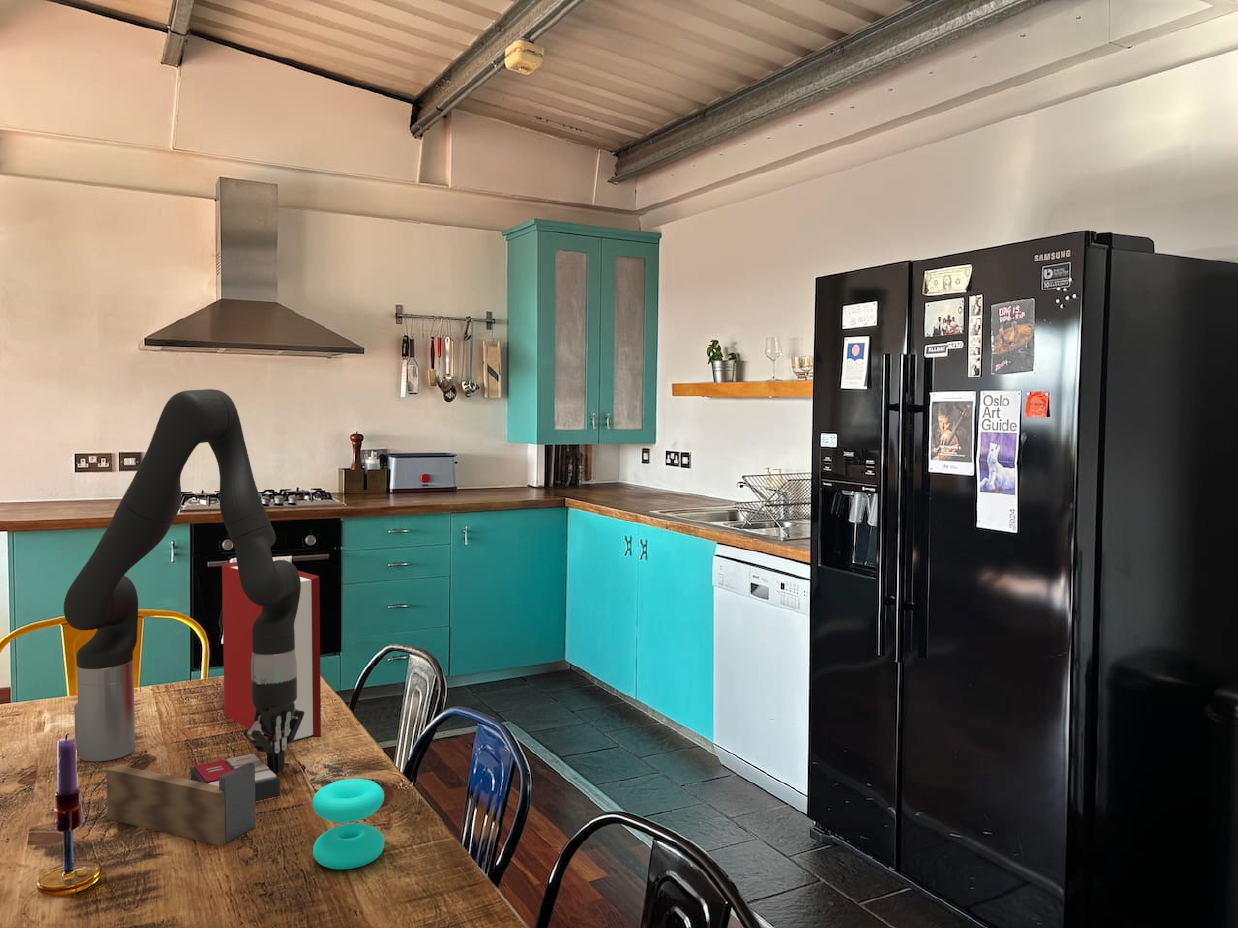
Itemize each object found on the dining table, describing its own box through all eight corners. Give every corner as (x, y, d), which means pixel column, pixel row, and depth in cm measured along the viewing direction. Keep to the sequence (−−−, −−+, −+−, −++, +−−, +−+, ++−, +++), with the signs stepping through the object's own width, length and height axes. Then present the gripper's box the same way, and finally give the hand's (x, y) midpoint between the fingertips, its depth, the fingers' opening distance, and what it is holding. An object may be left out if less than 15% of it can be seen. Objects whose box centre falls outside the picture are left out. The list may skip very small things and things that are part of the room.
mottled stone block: (107, 818, 148) (105, 768, 148) (144, 801, 155) (143, 753, 154) (220, 845, 139) (219, 793, 139) (255, 826, 146) (254, 776, 145)
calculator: (255, 750, 169) (280, 773, 157) (256, 774, 169) (281, 798, 157) (190, 763, 163) (210, 788, 151) (190, 788, 163) (211, 814, 151)
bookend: (220, 841, 141) (218, 776, 140) (249, 825, 146) (248, 762, 146) (226, 843, 140) (225, 777, 140) (255, 826, 146) (254, 763, 145)
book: (321, 736, 186) (319, 576, 184) (282, 747, 180) (280, 581, 178) (258, 705, 205) (256, 559, 203) (221, 713, 199) (219, 563, 197)
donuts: (347, 809, 129) (297, 793, 134) (348, 879, 130) (298, 861, 135) (398, 784, 138) (349, 770, 143) (399, 850, 139) (350, 834, 144)
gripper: (283, 663, 173) (284, 755, 174) (229, 683, 160) (231, 782, 161) (316, 667, 170) (318, 761, 171) (264, 688, 158) (266, 789, 159)
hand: (275, 771), depth 166 cm, fingers closed
